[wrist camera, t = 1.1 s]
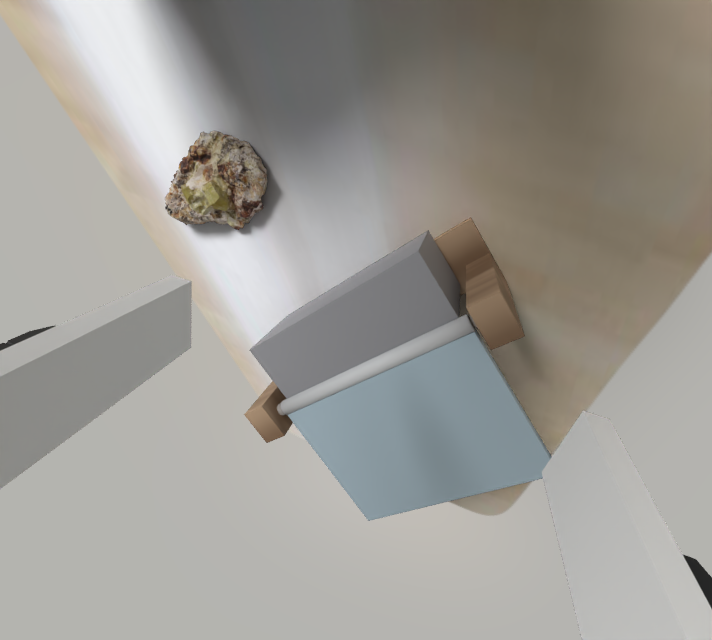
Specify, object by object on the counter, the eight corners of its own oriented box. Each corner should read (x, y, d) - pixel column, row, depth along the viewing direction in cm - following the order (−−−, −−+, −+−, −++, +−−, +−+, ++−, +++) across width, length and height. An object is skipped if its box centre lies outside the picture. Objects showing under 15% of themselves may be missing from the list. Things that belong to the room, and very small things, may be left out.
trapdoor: (284, 317, 35) (240, 356, 28) (434, 226, 28) (424, 249, 21) (385, 458, 38) (367, 522, 32) (539, 407, 32) (560, 476, 25)
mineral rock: (227, 100, 28) (258, 204, 28) (262, 120, 32) (290, 211, 32) (136, 160, 32) (164, 249, 32) (177, 171, 36) (202, 250, 36)
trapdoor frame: (278, 330, 37) (220, 385, 29) (470, 217, 28) (473, 245, 20) (312, 377, 39) (266, 443, 30) (506, 282, 30) (524, 336, 21)
